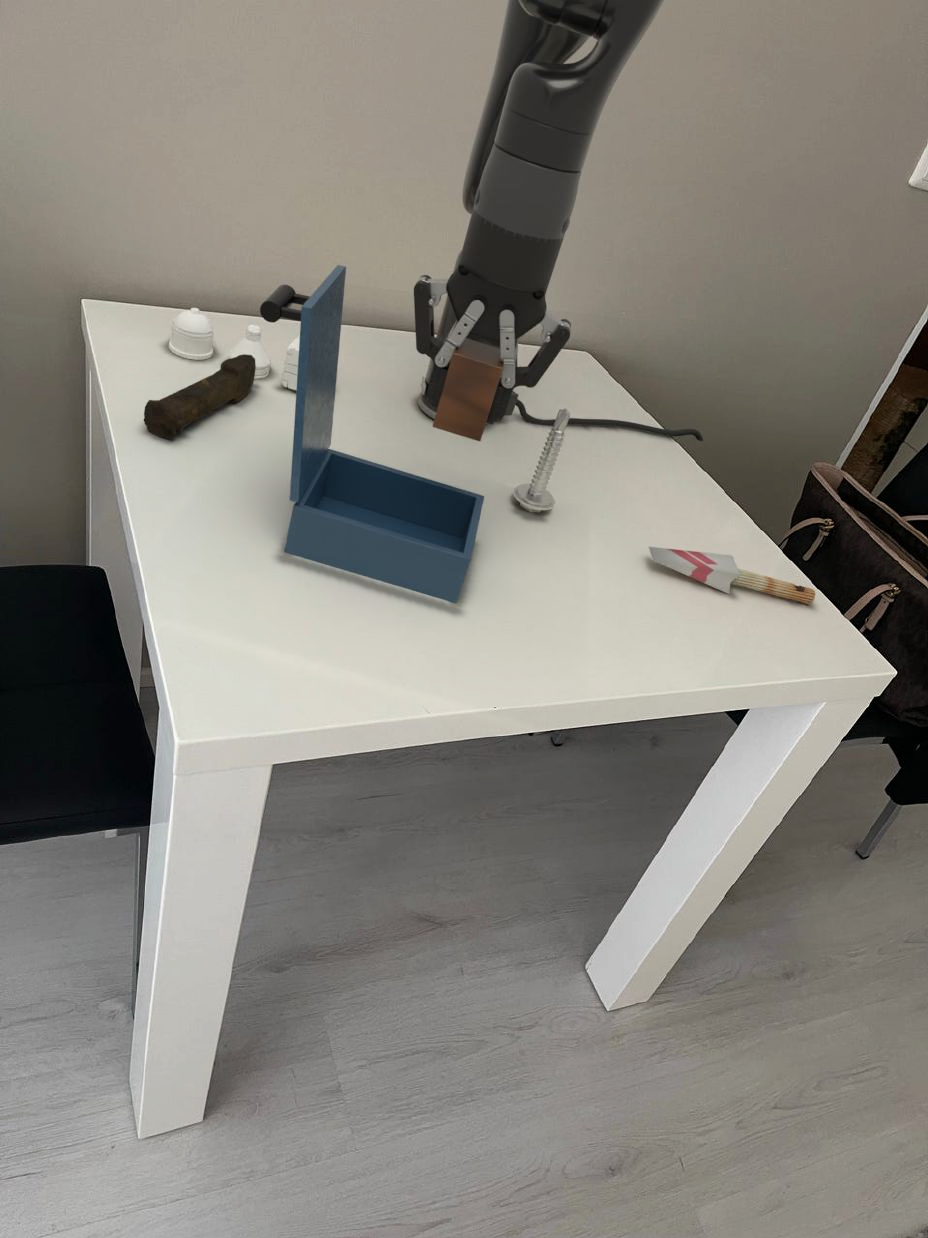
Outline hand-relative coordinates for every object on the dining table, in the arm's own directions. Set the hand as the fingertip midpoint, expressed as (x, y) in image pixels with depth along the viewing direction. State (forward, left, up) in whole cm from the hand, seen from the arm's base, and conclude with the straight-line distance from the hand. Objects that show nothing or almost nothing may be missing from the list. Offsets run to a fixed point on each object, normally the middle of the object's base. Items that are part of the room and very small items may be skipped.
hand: (463, 411), depth 85 cm
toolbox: (+2, -3, -17) cm, 17 cm away
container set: (-7, -41, -17) cm, 45 cm away
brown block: (0, 0, -1) cm, 1 cm away
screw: (-20, -3, -17) cm, 26 cm away
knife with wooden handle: (-33, +17, -17) cm, 40 cm away
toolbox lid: (+8, -10, -2) cm, 13 cm away
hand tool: (+4, -33, -17) cm, 37 cm away
